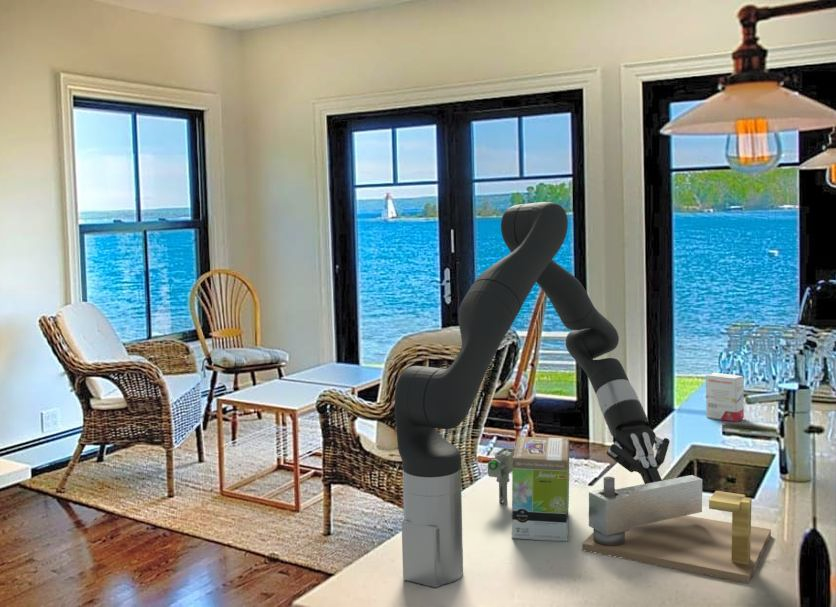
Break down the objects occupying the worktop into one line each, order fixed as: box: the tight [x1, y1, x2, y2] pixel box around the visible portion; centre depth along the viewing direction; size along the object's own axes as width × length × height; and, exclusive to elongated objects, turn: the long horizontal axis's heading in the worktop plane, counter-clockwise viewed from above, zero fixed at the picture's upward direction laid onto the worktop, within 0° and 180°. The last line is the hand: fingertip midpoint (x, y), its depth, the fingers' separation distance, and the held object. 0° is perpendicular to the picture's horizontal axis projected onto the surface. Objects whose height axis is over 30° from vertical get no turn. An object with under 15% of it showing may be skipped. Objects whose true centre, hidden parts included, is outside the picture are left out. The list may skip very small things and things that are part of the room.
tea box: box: [511, 436, 570, 542], centre depth 152 cm, size 15×10×15 cm
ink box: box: [705, 372, 745, 423], centre depth 225 cm, size 9×5×12 cm, turn 44°
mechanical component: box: [487, 447, 515, 505], centre depth 164 cm, size 3×10×10 cm, turn 152°
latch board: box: [581, 476, 772, 584], centre depth 143 cm, size 21×26×12 cm
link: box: [588, 474, 703, 535], centre depth 145 cm, size 21×5×6 cm, turn 114°
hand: (656, 489), depth 152 cm, fingers closed
